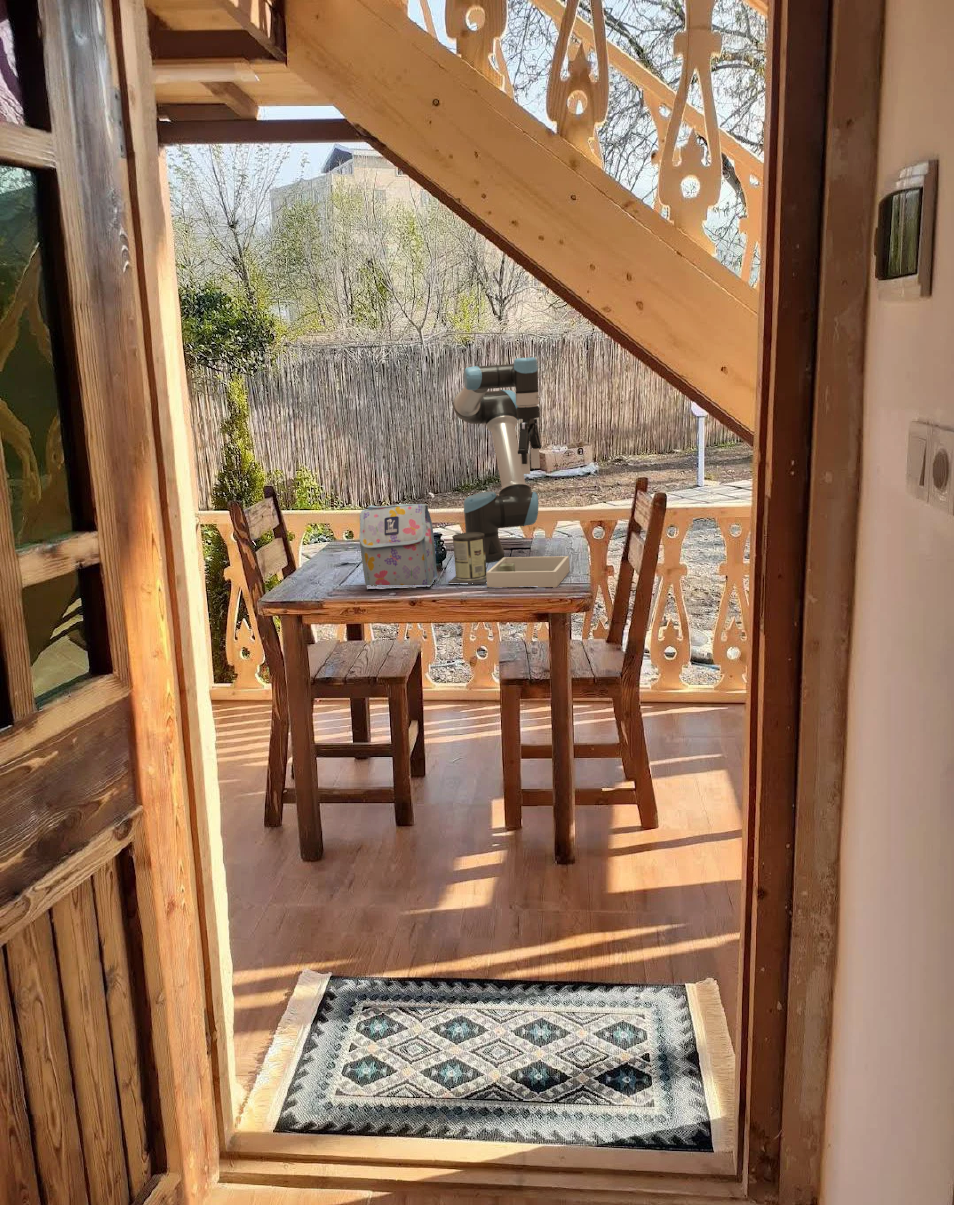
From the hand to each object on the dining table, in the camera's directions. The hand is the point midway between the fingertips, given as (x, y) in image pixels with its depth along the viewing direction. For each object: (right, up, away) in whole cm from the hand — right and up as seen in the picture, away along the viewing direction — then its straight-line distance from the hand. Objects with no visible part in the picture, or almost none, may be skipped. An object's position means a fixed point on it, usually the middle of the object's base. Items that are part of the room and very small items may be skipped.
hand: (530, 471), depth 343 cm
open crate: (-1, -36, -11) cm, 38 cm away
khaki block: (-8, -36, -9) cm, 38 cm away
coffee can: (-20, -36, -7) cm, 41 cm away
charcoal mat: (-20, -37, -7) cm, 42 cm away
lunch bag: (-43, -39, -8) cm, 58 cm away
